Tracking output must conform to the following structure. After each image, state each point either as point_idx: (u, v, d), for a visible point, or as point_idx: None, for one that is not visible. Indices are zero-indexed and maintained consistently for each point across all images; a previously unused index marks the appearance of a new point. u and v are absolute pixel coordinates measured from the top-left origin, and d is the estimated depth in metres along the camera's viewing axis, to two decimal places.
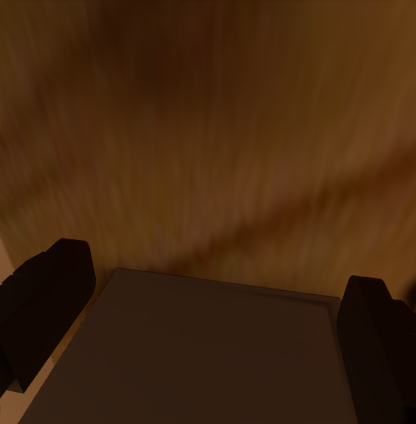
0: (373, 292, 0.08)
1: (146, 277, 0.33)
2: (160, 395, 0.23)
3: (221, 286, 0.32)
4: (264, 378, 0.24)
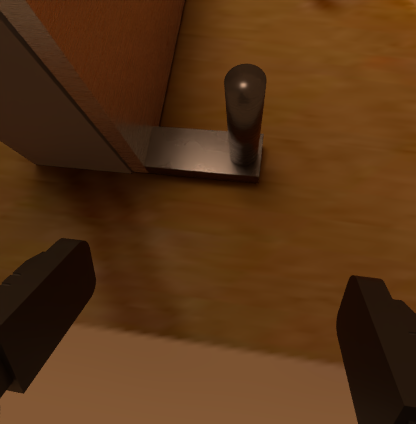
0: (373, 292, 0.08)
1: None
2: None
3: None
4: None
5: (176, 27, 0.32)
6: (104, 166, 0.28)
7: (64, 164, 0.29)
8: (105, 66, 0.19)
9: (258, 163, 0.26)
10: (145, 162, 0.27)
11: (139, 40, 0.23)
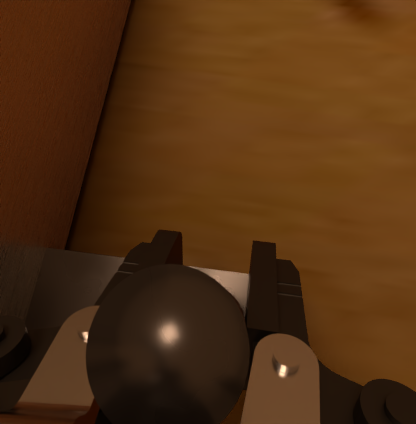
0: (262, 252, 0.09)
1: None
2: None
3: None
4: None
5: (109, 54, 0.19)
6: None
7: None
8: None
9: None
10: None
11: None
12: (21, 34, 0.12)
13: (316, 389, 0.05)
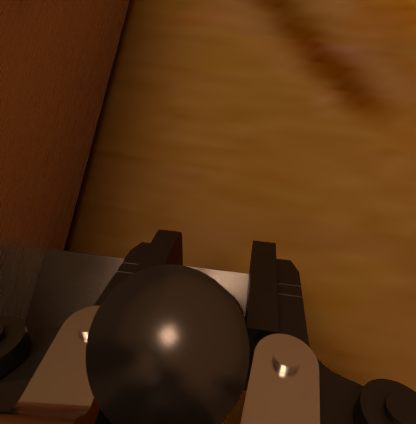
0: (262, 252, 0.09)
1: None
2: None
3: None
4: None
5: (108, 54, 0.19)
6: None
7: None
8: None
9: None
10: None
11: None
12: (19, 35, 0.12)
13: (316, 389, 0.05)
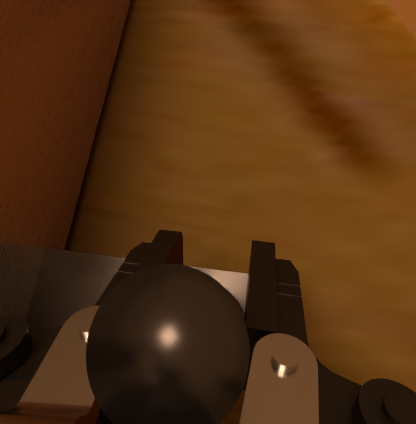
0: (261, 252, 0.09)
1: None
2: None
3: None
4: None
5: (109, 54, 0.19)
6: None
7: None
8: None
9: None
10: None
11: None
12: (21, 34, 0.12)
13: (315, 389, 0.05)
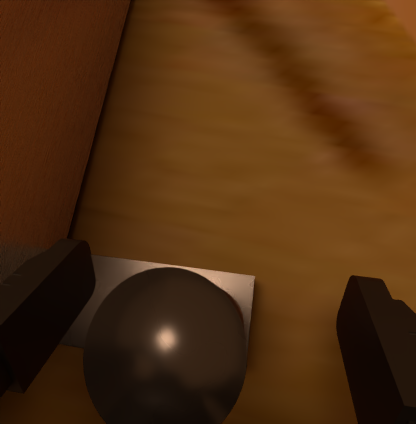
0: (373, 292, 0.08)
1: None
2: None
3: None
4: None
5: (108, 55, 0.19)
6: None
7: None
8: None
9: None
10: None
11: None
12: (20, 35, 0.12)
13: None
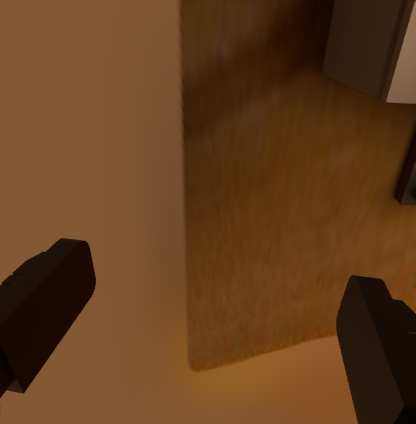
0: (373, 292, 0.08)
1: None
2: None
3: None
4: None
5: None
6: (328, 47, 0.27)
7: None
8: None
9: (413, 203, 0.32)
10: None
11: None
12: None
13: None
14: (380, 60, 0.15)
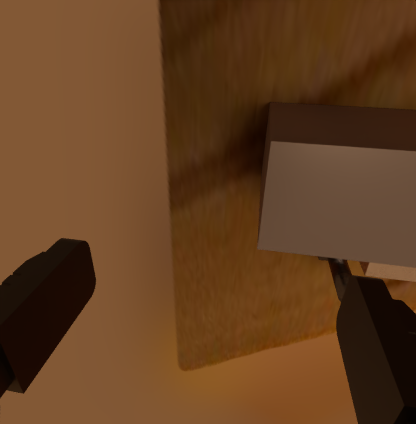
0: (373, 292, 0.08)
1: (300, 104, 0.37)
2: (374, 131, 0.27)
3: (370, 108, 0.37)
4: None
5: None
6: None
7: None
8: None
9: (327, 259, 0.46)
10: None
11: None
12: None
13: None
14: (259, 222, 0.29)
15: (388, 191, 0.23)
